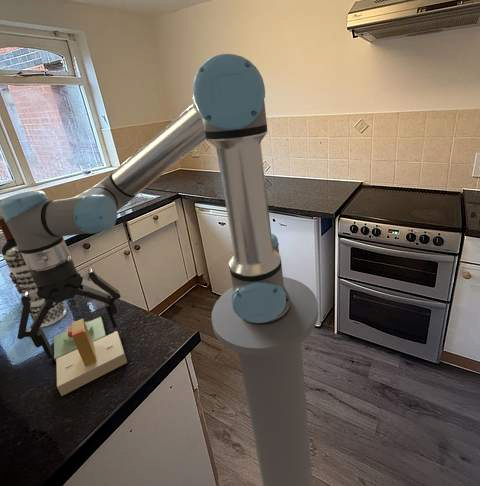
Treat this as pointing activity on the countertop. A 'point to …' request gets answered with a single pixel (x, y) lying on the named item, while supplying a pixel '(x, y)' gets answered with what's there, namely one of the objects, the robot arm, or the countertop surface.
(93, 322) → the green push button box
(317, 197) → the countertop surface
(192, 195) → the countertop surface
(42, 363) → the countertop surface
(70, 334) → the bell button
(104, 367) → the plate
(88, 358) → the thumbturn
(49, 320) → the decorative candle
